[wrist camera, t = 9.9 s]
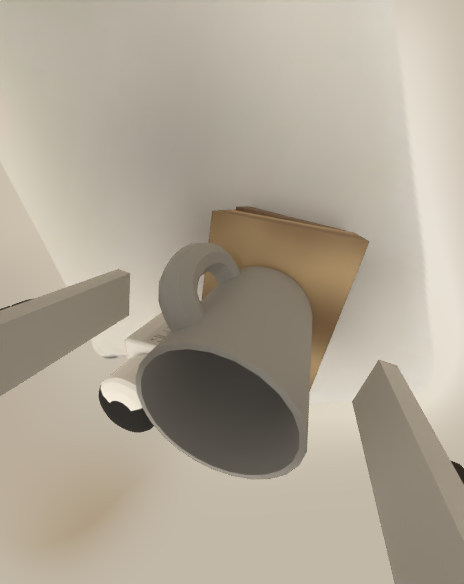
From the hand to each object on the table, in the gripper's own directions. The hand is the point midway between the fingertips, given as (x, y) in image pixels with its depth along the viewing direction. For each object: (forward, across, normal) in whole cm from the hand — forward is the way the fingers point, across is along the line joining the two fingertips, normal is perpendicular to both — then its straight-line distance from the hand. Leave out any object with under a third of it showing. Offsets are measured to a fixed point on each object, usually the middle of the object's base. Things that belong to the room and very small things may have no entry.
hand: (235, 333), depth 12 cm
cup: (+5, 0, 0) cm, 5 cm away
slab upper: (+10, +1, -1) cm, 11 cm away
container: (+15, -9, -14) cm, 23 cm away
